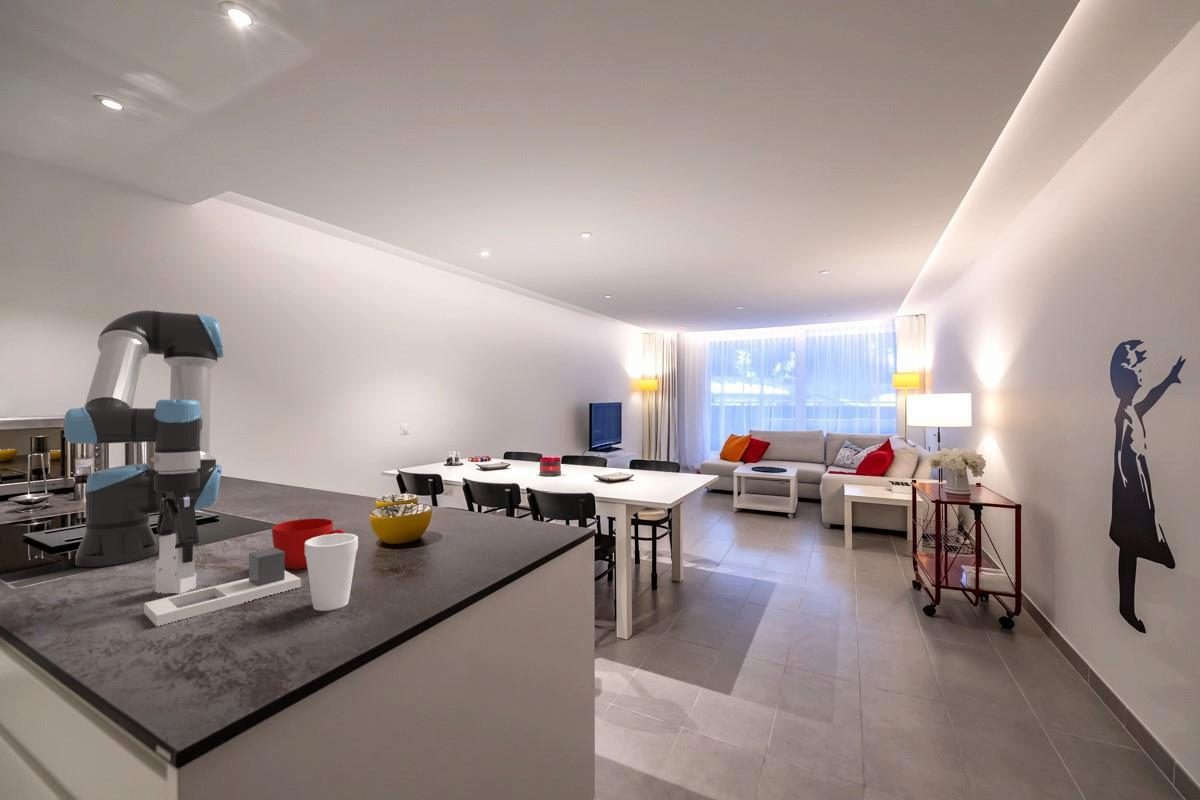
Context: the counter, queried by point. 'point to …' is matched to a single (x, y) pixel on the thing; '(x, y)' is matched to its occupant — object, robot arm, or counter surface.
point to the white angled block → (171, 576)
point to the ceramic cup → (299, 538)
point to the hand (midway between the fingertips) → (176, 571)
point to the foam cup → (330, 569)
